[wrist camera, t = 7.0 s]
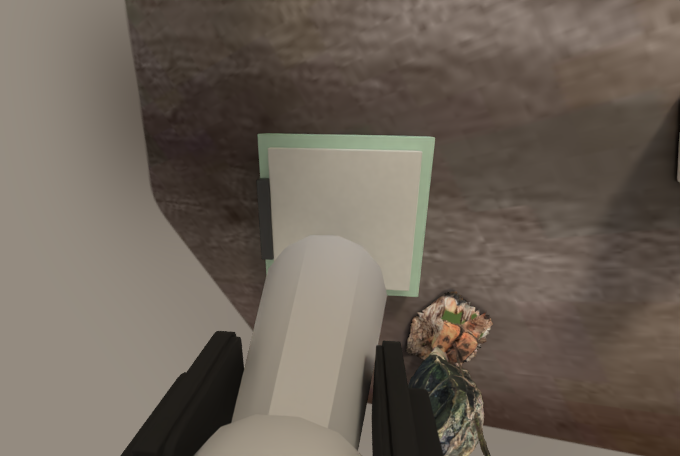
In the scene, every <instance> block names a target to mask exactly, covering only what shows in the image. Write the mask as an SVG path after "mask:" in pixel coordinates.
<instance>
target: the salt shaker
mask: <svg viewBox="0 0 680 456" xmlns="http://www.w3.org/2000/svg"><path fill="white" fill-rule="evenodd" d="M386 299H387V292H386V288H385V284H384V279H383V275H382V271H381V268H380V266H379V265H378V264H377V263H376V261H375V260H374V259H373V258H372V257H371V255H370V254H369V253H368V252H367V251H366V250H365V248H364V247H363V246H361V245H359V244H356V243H354V242H352V241H350V240H347V239H345V238H343V237H341V236H339V235H310V236H308V237H306V238H304V239H302V240H300V241H298V242H296V243H294V244H291V245H289V246H288V247H286V248H285V249H284V250H283V251H282V252H281V254H280V255H279V256H278V257H277V259H276V260H275V261H274V262H273V263H272V265H271V266H270V267H269V268H268V272H267V276H266V280H265V284H264V288H263V293H262V297H261V301H260V305H259V309H258V313H257V318H256V322H255V326H254V330H253V335H252V339H251V343H250V347H249V351H248V355H247V359H246V364H245V368H244V372H243V376H242V380H241V384H240V389H239V393H238V397H237V401H236V405H235V410H234V414H233V418H232V422H231V423H230V424H227V425H225V426H222V427H220V428H219V429H218V430H217V431H216V432H215V433H214V434H213V435H212V436H211V437H210V438H209V439H208V440H207V442H206V443H205V444H204V445H203V446H202V447H201V448H200V449H199V450H198V451H197V452H196V454H195V455H194V456H362V455H361V454H360V453H359V452H358V447H359V442H360V436H361V432H362V426H363V421H364V416H365V410H366V405H367V400H368V394H369V389H370V384H371V378H372V373H373V368H374V362H375V354H376V345H378V341H379V336H380V331H381V325H382V320H383V315H384V309H385V304H386Z"/></svg>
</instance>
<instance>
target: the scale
mask: <svg viewBox="0 0 680 456" xmlns="http://www.w3.org/2000/svg"><path fill="white" fill-rule="evenodd" d="M434 143H435V138H434V137H429V136H383V135H332V134H280V133H264V134H258V150H259V166H260V178H259V179H258V180H257V196H258V211H259V226H260V240H261V255H262V259H264V260H266V276H267V272H268V268H269V267H270V266H271V265H272V263H273V262H274V261H275V260H276V259H277V257H278V256H279V255H280V254H281V252H282V251H283V250H284V249H285V248H286V247H288V246H289V245H291V244H294V243H296V242H298V241H300V240H302V239H304V238H306V237H308V236H310V235H339V236H341V237H343V238H345V239H347V240H350V241H352V242H354V243H356V244H359V245H361V246H363V247H364V248H365V250H366V251H367V252H368V253H369V254H370V255H371V257H372V258H373V259H374V260H375V261H376V263H377V264H378V265H379V266H380V268H381V271H382V275H383V279H384V284H385V288H386V292H387V295H390V296H410V297H418V292H419V283H420V274H421V264H422V255H423V246H424V236H425V227H426V218H427V208H428V199H429V190H430V180H431V171H432V162H433V152H434Z"/></svg>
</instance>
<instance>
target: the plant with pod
mask: <svg viewBox="0 0 680 456" xmlns="http://www.w3.org/2000/svg"><path fill="white" fill-rule="evenodd" d="M461 296H462V295H457V292H450V293H449V292H448V293H445V295H443V296H442V297H440V298H439V299H438V300H436V301H435V302H434V303H432V304H431V306H429V307H427V308H426V309H425V310H422V311H423V312H424V313H418V312H417V313H418V314H419V316H420V317H417V316H415V317H414V318H413V320H412V322H413V323H411V325H412V326H411V331H410V332H411V333H410V334H409V335H410V337H409V338H408V339H409V340H408V341H407V342H408V344H409V345H407V348H408V349H407V350H406V351H407V352H409V354H411V355H413V354H414V355H417V356H418V357H420V358H421V359H424V361H423V362H422V364H421V365H420V366H419V368H418V369H417V371H416V372H415V374H414V376H413V377H411V379H410V382H409V385H408V388H419V389H427V391H428V394H429V398H430V402H431V406H432V410H433V414H434V418H435V422H436V427H437V431H438V435H439V439H440V443H441V447H442V451H443V456H469V455H470V454H471V452H472V451H474V449H475V447H476V445H477V444H478V441H480V446H481V450H482V452H483V454H484V455H485V456H490V453H489V451H488V448H487V445H486V441H485V439H484V436H483V431H482V430H483V428H482V426H483V422H484V411H483V401H482V398H481V392H480V390H479V389H478V388H477V386H476V385H475V383H474V382H473V381H472V380H471V377H470V375H469V372H468V371H467V370H465V369H463V368H462V366H461V365H462V364H461V363H464V362H467V361H470V358H473V357H474V356H476V355H475V354H476V352H477V349H478V348H481V347H480V344H482V343H484V342H486V337H485V335H487V334H489V332H488V331H487V330H490V326H491V325H492V324H493V323H492V321H491V318H490V319H489V320H488V318H489V315H485V313H486V312H485V313H483V314H482V315H481V316H479V309H478V310H477V311H476V312H475V307H472V306H469V305H470V304H471V302H466V300H464V301H463V298H461V299H460V297H461Z"/></svg>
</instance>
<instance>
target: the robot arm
mask: <svg viewBox="0 0 680 456" xmlns="http://www.w3.org/2000/svg"><path fill="white" fill-rule="evenodd" d="M243 372H244V364H243V353H242V343H241V338H240V337H236V334H235V332H226V331H217V332H215V334H214V335H213V336H212V337H211V339H210V340H209V342H208V343H207V344H206V346H205V347H204V349H203V350H202V351H201V353H200V354H199V356H198V357H197V358H196V360H195V361H194V363H193V364H192V366H191V367H190V368H189V370H188V371H187V373H186V372H184V373H183V374H181V375H180V376H179V377H178V378H177V379H176V381H175V382H174V384H173V385H172V386H171V388H170V389H169V391H168V392H167V393H166V394H165V396H164V397H163V399H162V400H161V401H160V403H159V404H158V406H157V407H156V408H155V410H154V411H153V412H152V414H151V415H150V416H149V418H148V419H147V420H146V422H145V423H144V424H143V426H142V427H141V429H140V430H139V431H138V433H137V434H136V435H135V437H134V438H133V440H132V441H131V442H130V444H129V445H128V446H127V448H126V449H125V450H124V452H123V453H122V455H121V456H194V455H195V454H196V452H197V451H198V450H199V449H200V448H201V447H202V446H203V445H204V444H205V443H206V442H207V440H208V439H209V438H210V437H211V436H212V435H213V434H214V433H215V432H216V431H217V430H218V429H219V428H220V427H222V426H225V425H227V424H230V423H231V422H232V418H233V414H234V410H235V405H236V401H237V397H238V393H239V389H240V384H241V380H242V376H243ZM372 446H373V456H443V451H442V447H441V443H440V439H439V435H438V431H437V427H436V422H435V418H434V414H433V410H432V406H431V402H430V398H429V394H428V391H427V389H419V388H408V384H407V378H406V372H405V366H404V360H403V354H402V348H401V343H400V342H394V341H383V343H382V346H381V345H376V354H375V370H374V385H373V401H372Z"/></svg>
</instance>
